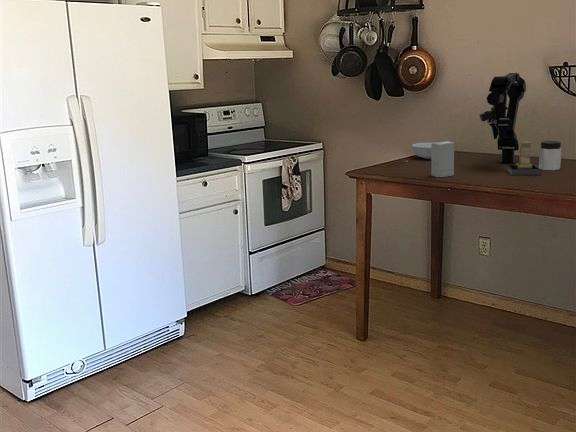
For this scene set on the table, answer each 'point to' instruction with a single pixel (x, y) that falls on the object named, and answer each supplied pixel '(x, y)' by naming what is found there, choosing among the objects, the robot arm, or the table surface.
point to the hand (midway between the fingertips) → (497, 139)
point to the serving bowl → (423, 150)
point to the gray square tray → (523, 170)
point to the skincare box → (442, 159)
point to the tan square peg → (524, 153)
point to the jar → (550, 155)
